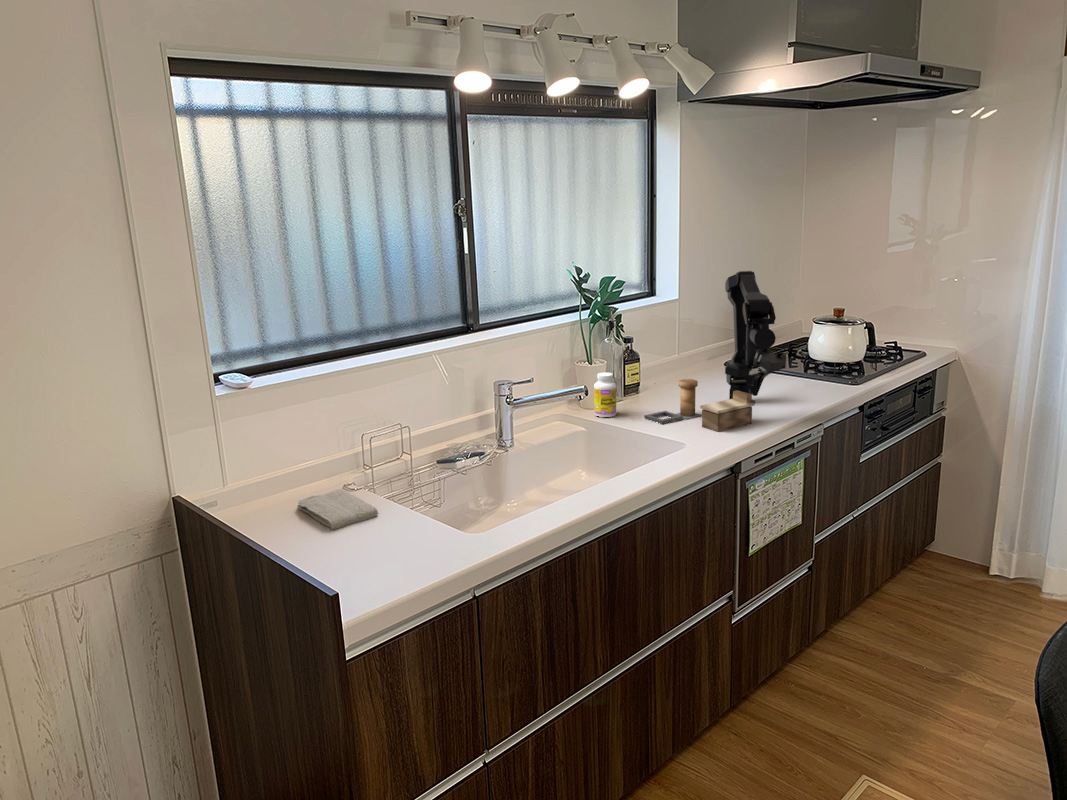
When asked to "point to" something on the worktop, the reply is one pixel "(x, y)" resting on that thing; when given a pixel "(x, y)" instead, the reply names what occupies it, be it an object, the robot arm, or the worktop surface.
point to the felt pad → (691, 416)
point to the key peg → (687, 397)
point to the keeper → (664, 413)
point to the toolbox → (726, 419)
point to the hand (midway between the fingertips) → (754, 395)
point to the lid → (730, 403)
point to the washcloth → (336, 509)
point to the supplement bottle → (605, 395)
